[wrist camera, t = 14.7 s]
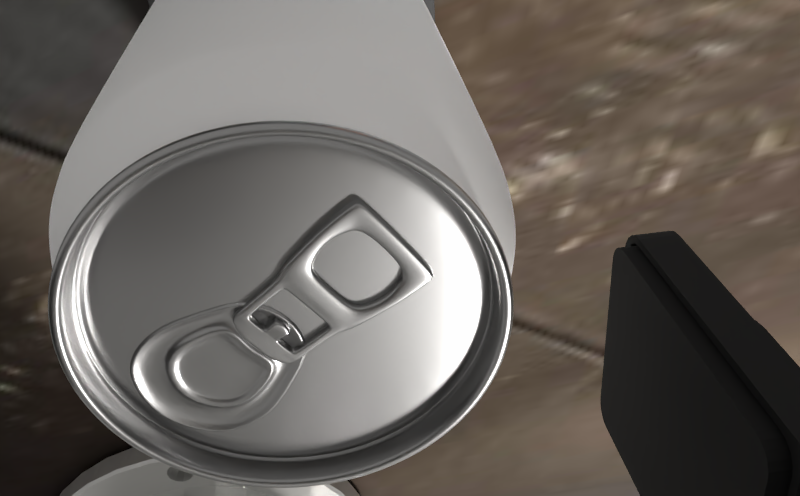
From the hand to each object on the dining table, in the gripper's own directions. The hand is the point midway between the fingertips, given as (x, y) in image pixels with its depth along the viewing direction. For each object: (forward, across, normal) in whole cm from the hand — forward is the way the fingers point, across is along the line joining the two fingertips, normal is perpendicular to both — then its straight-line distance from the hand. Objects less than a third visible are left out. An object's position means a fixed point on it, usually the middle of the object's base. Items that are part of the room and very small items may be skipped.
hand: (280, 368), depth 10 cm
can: (+12, 0, -2) cm, 12 cm away
